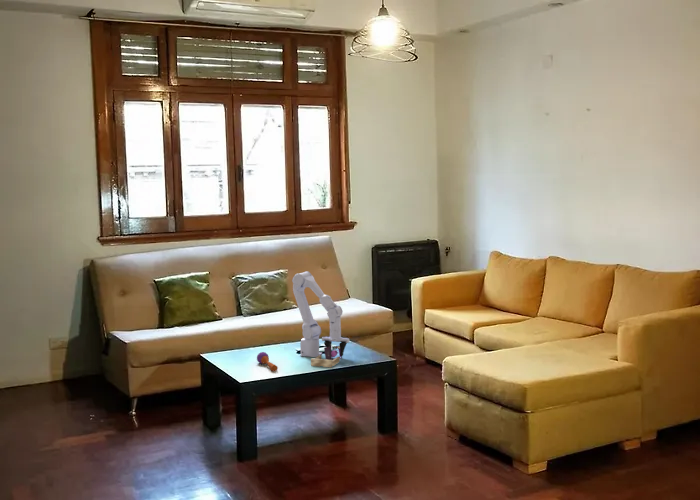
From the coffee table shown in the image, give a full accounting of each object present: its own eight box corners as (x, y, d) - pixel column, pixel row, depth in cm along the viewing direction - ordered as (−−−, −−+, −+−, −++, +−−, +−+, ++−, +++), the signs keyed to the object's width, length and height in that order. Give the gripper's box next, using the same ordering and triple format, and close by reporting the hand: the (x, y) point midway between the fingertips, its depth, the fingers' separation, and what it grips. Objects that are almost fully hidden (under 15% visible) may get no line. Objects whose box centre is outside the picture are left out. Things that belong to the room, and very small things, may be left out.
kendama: (267, 364, 371) (254, 352, 389) (269, 375, 372) (256, 363, 390) (279, 361, 373) (265, 349, 391) (281, 372, 375) (267, 359, 392)
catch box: (311, 365, 382) (310, 358, 382) (319, 359, 393) (319, 353, 392) (331, 367, 378) (331, 360, 378) (339, 361, 389) (339, 354, 388)
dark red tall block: (324, 347, 391) (340, 345, 395) (321, 348, 396) (337, 346, 400) (326, 360, 390) (342, 358, 394) (323, 361, 395) (339, 359, 398)
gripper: (319, 330, 393) (319, 356, 395) (345, 332, 388) (346, 358, 390) (324, 327, 400) (325, 352, 401) (350, 329, 395) (350, 354, 396)
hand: (335, 355), depth 396 cm, fingers closed on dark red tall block, 6 cm apart
